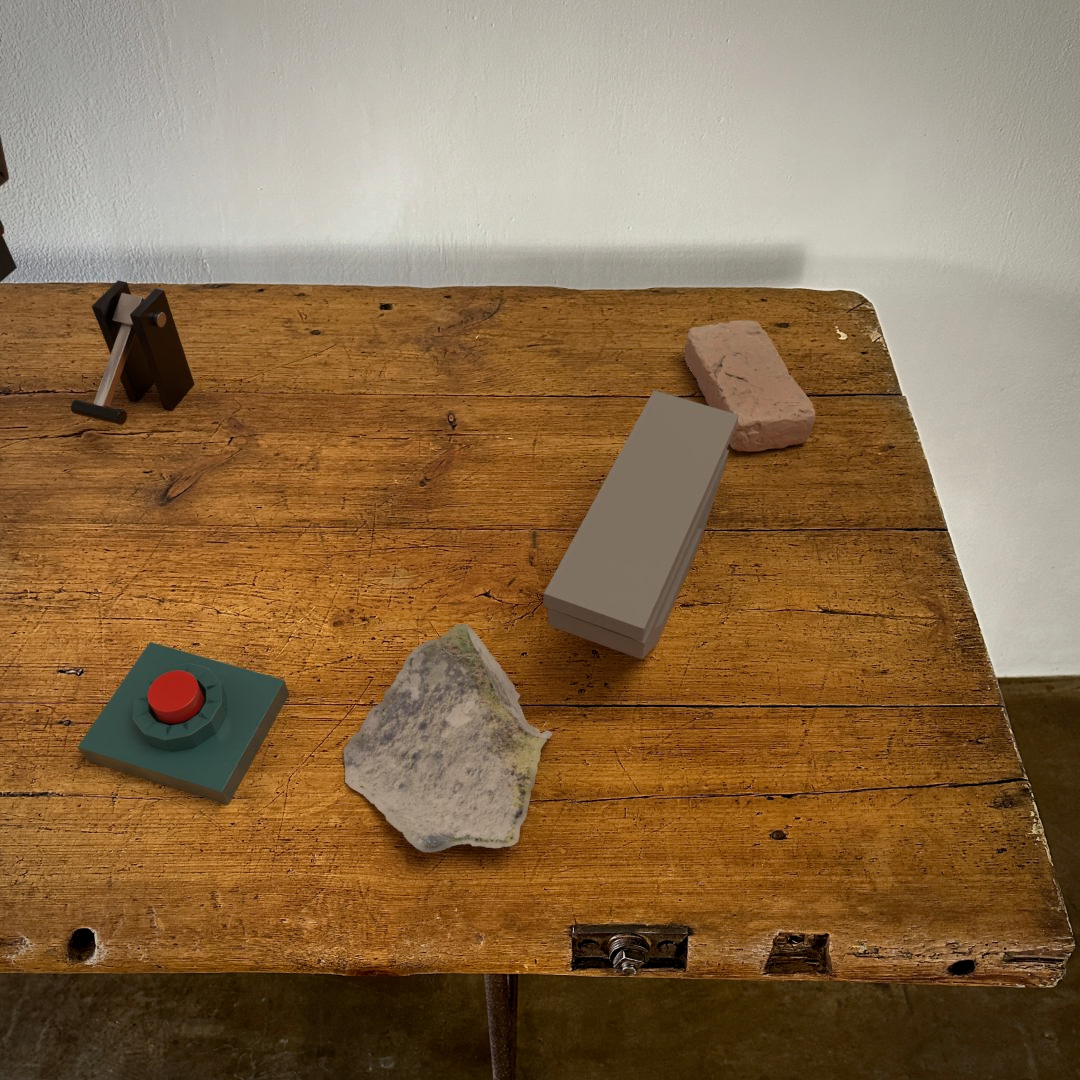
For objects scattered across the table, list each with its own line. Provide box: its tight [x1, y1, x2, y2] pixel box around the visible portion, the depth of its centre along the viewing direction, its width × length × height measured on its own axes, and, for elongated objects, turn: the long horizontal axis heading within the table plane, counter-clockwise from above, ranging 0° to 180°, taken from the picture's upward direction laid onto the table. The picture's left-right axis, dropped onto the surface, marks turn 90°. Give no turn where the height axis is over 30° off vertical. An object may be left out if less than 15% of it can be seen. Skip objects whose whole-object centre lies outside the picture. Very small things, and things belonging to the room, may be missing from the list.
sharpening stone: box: [542, 390, 739, 660], centre depth 82 cm, size 25×8×11 cm, turn 157°
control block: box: [77, 641, 290, 806], centre depth 74 cm, size 12×10×4 cm
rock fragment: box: [343, 623, 553, 853], centre depth 72 cm, size 15×16×5 cm
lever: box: [70, 293, 145, 426], centre depth 91 cm, size 12×5×2 cm, turn 163°
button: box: [148, 671, 203, 724], centre depth 73 cm, size 4×4×2 cm
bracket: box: [91, 279, 195, 412], centre depth 96 cm, size 12×9×13 cm
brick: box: [683, 319, 816, 452], centre depth 101 cm, size 16×8×5 cm, turn 13°
